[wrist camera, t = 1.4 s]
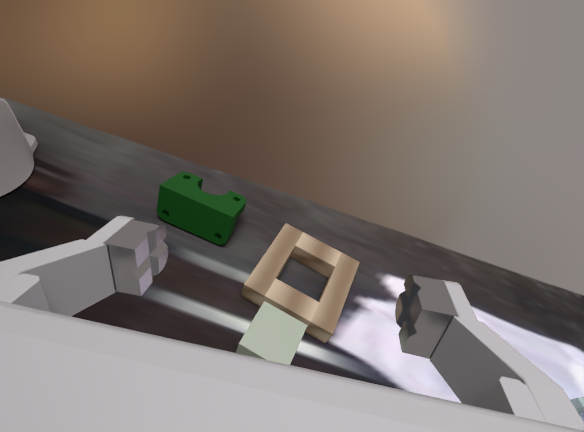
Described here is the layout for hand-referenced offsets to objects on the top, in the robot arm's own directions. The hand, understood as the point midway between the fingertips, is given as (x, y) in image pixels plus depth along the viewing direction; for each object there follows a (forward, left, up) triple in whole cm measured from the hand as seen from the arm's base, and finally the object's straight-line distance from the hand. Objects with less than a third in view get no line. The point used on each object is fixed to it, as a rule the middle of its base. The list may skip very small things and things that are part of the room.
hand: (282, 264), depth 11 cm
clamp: (-17, +22, -30) cm, 41 cm away
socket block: (+1, +20, -30) cm, 36 cm away
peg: (+1, +6, -30) cm, 31 cm away
